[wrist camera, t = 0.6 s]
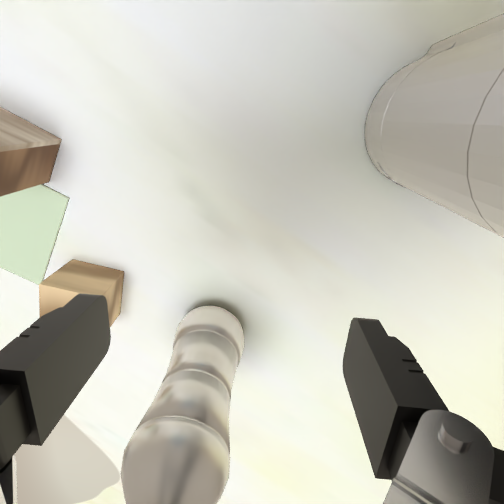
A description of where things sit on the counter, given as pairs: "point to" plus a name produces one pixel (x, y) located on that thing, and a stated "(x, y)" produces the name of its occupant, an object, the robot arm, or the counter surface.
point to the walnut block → (24, 154)
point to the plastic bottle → (188, 417)
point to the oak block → (82, 286)
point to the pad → (30, 230)
